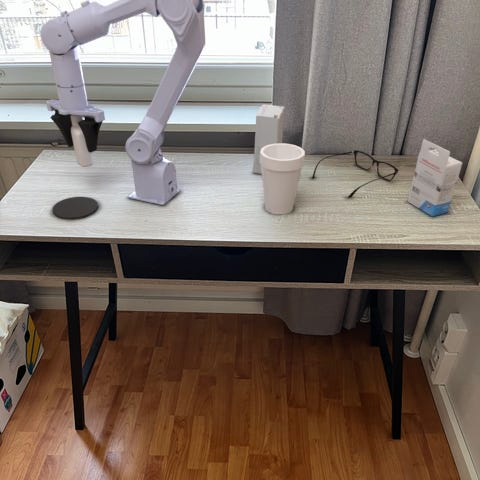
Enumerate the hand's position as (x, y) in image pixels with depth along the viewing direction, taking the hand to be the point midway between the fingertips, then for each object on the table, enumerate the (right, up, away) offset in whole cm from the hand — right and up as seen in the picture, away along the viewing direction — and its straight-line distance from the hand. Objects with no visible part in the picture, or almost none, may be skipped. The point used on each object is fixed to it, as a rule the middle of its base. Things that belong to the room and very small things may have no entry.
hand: (82, 148), depth 113 cm
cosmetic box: (+43, 0, +17) cm, 46 cm away
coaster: (-1, -14, 0) cm, 14 cm away
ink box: (+79, -13, +1) cm, 80 cm away
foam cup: (+45, -13, +1) cm, 47 cm away
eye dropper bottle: (0, -3, +2) cm, 4 cm away
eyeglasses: (+64, -4, +12) cm, 65 cm away
